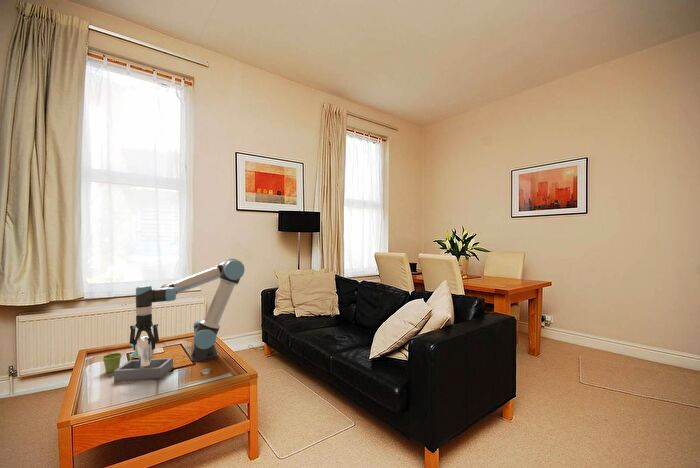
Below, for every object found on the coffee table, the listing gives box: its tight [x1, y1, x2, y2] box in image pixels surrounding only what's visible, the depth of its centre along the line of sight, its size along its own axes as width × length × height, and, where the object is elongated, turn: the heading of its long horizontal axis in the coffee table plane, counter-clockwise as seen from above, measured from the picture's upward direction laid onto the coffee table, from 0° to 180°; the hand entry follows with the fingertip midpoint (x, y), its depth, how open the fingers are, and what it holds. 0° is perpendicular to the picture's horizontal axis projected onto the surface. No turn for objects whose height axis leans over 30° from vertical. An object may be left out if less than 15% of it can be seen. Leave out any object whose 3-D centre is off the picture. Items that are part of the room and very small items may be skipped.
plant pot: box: [101, 352, 123, 374], centre depth 188 cm, size 9×9×9 cm
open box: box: [113, 357, 174, 383], centre depth 181 cm, size 23×15×6 cm, turn 96°
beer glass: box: [136, 336, 152, 368], centre depth 181 cm, size 7×7×15 cm
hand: (144, 355), depth 182 cm, fingers closed on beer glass, 7 cm apart
